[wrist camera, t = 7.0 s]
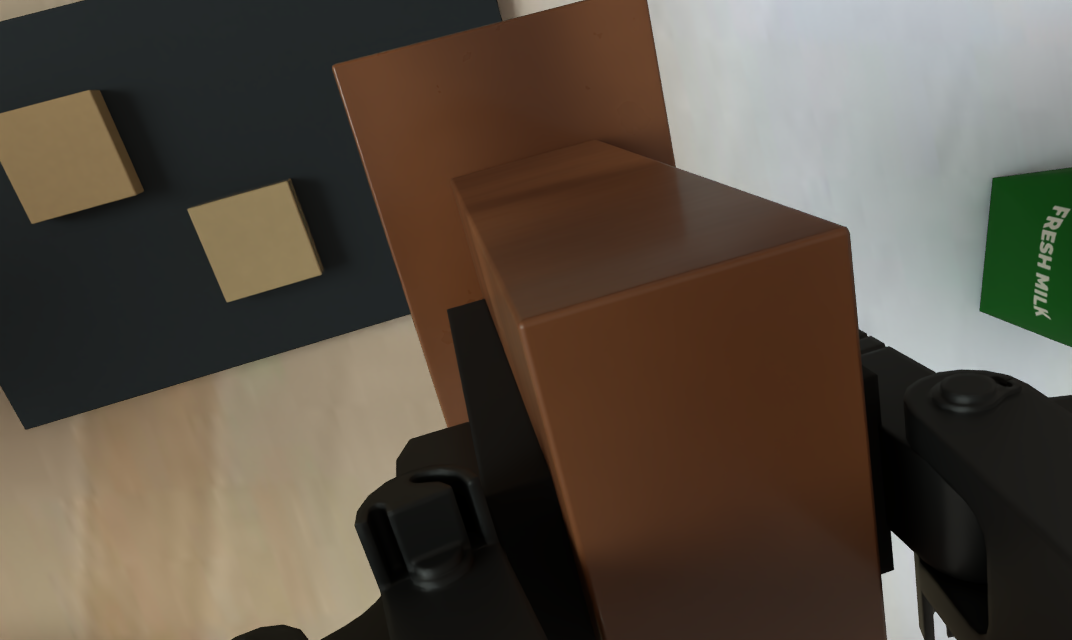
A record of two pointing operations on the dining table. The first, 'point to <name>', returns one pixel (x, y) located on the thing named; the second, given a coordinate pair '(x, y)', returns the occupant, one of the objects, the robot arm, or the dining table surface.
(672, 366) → the scrub brush
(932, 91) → the dining table surface
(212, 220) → the clay chip
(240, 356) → the mat
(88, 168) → the clay chip
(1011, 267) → the milk carton
